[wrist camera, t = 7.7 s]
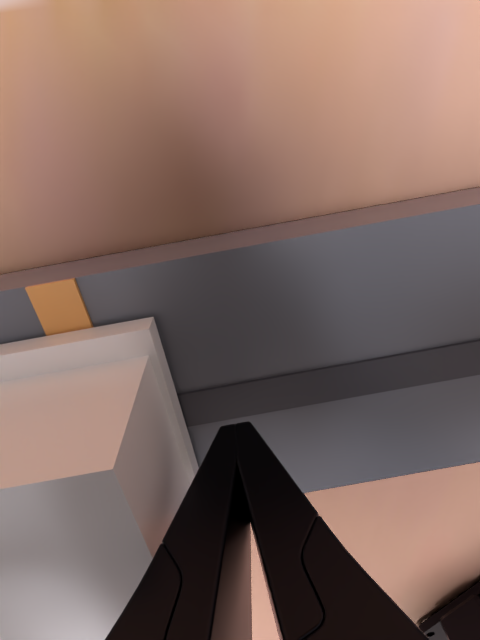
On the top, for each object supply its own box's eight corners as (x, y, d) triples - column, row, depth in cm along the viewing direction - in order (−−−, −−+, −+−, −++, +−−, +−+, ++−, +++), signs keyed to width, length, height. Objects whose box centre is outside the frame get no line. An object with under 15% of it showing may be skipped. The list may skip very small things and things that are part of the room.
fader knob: (153, 316, 9) (110, 433, 5) (205, 488, 12) (201, 647, 8) (-15, 347, 9) (-178, 485, 5) (75, 511, 12) (10, 680, 8)
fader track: (851, 119, 10) (995, 111, 8) (723, 373, 14) (801, 407, 12) (-87, 290, 11) (-153, 320, 9) (36, 495, 14) (10, 547, 13)
